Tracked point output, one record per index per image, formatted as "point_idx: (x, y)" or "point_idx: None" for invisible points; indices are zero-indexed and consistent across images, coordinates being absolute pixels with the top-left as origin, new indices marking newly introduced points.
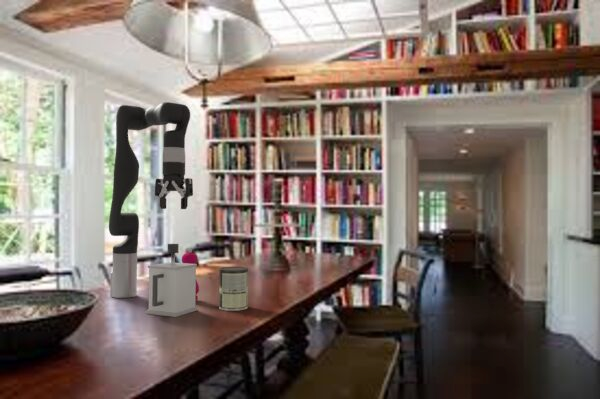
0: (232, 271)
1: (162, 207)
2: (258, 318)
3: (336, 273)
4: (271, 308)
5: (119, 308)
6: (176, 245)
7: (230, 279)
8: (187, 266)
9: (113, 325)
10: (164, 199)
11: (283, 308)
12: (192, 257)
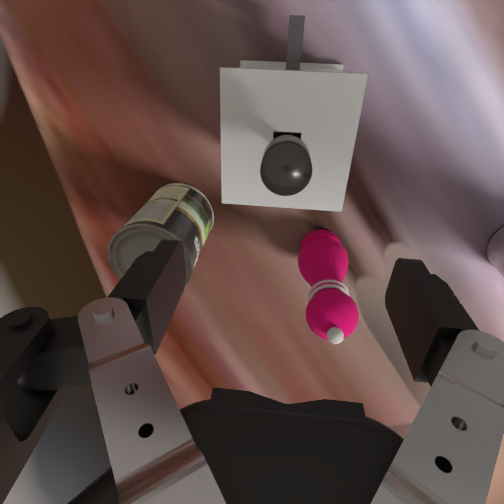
0: (126, 225)
1: (400, 264)
2: (63, 134)
3: None
4: (111, 237)
5: (458, 96)
6: (261, 162)
7: (141, 214)
8: (221, 146)
9: None
10: (419, 346)
11: (91, 245)
12: (313, 308)
